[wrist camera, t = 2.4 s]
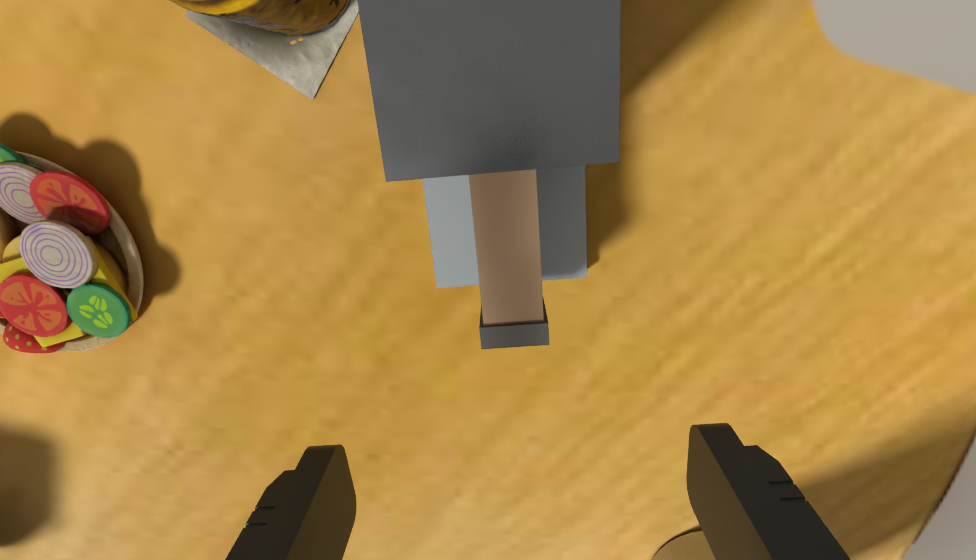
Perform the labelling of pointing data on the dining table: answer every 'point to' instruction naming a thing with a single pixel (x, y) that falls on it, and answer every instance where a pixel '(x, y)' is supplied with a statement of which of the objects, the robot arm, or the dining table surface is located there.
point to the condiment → (280, 33)
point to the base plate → (557, 226)
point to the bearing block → (493, 84)
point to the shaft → (508, 259)
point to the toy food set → (62, 260)
